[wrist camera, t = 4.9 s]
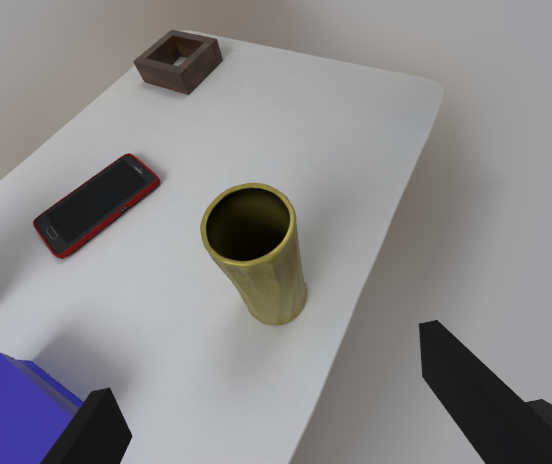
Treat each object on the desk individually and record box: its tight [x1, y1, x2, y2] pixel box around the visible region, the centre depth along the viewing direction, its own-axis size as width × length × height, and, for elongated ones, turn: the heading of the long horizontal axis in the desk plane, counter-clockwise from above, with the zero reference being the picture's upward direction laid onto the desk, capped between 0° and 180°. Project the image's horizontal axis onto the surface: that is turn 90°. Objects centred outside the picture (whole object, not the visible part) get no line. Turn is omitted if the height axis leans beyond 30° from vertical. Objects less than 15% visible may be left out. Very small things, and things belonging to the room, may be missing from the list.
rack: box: [134, 30, 223, 95], centre depth 46 cm, size 10×10×4 cm
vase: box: [200, 183, 307, 325], centre depth 21 cm, size 6×6×14 cm
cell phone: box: [33, 153, 160, 259], centre depth 34 cm, size 8×15×1 cm, turn 137°
